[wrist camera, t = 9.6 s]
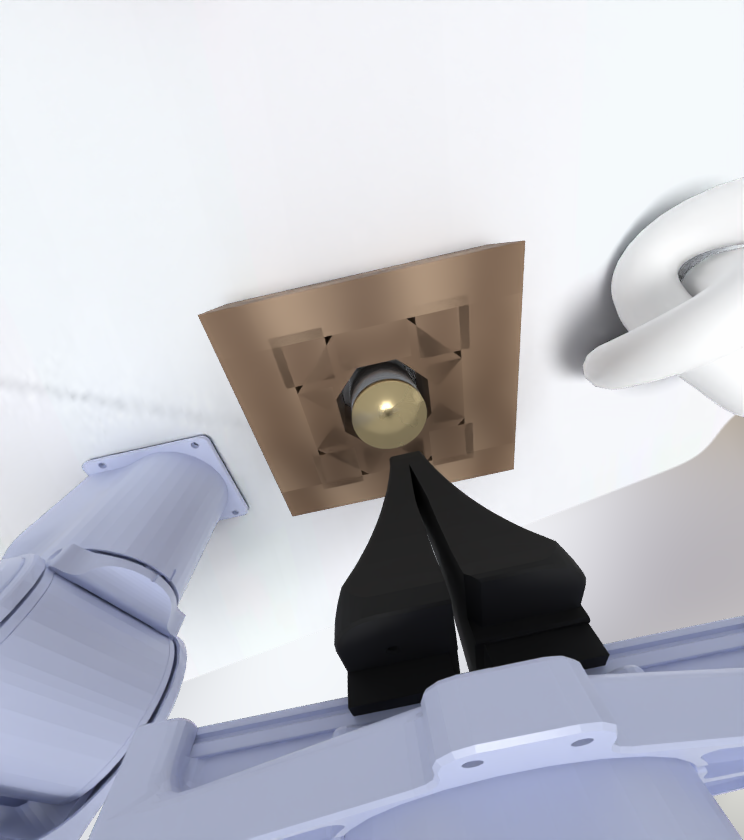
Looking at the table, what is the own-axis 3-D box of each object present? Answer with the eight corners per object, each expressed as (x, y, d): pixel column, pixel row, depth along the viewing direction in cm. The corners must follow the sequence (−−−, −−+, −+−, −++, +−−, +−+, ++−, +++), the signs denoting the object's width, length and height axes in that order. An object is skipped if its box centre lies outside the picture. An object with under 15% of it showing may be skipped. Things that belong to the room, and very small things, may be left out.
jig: (299, 479, 24) (292, 516, 21) (226, 304, 18) (197, 315, 14) (488, 438, 24) (513, 469, 21) (488, 244, 17) (525, 240, 14)
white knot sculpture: (567, 416, 24) (677, 492, 16) (530, 273, 18) (670, 283, 11) (715, 343, 22) (923, 390, 14) (723, 160, 16) (1069, 70, 9)
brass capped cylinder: (356, 408, 22) (361, 455, 17) (343, 357, 20) (343, 392, 15) (409, 396, 22) (430, 440, 16) (400, 343, 20) (421, 374, 14)
